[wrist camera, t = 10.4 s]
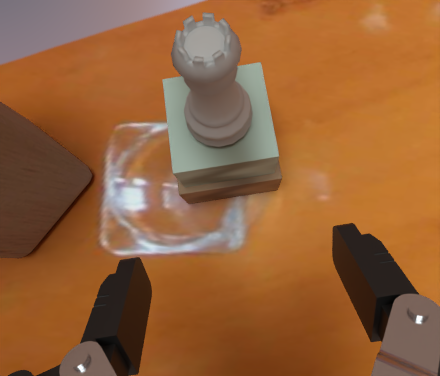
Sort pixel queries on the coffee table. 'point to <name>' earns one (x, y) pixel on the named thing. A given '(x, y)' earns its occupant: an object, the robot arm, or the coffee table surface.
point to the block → (33, 183)
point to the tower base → (225, 155)
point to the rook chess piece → (212, 81)
